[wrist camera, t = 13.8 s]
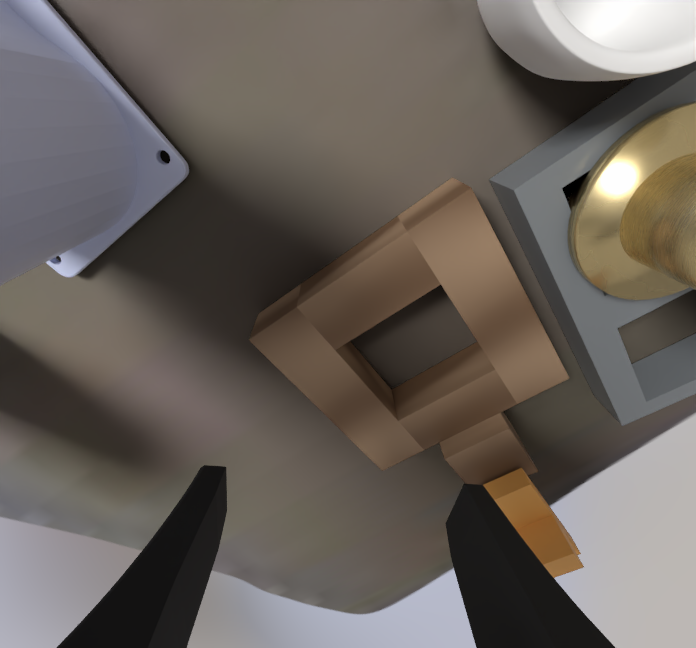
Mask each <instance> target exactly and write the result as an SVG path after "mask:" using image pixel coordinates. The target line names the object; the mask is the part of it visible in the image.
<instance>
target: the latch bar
mask: <svg viewBox="0 0 696 648" xmlns="http://www.w3.org/2000/svg"><path fill="white" fill-rule="evenodd" d="M483 486H484V487H485V488H486V490H487V491H488V492H489V494H490V495H491V496H492V498H493V499H494V501H495V502H496V503H497V505H498V506H499V507H500V509H501V510H502V511H503V513H504V514H505V516H506V517H507V518H508V520H509V521H510V522H511V524H512V525H513V526H514V528H515V529H516V530H517V532H518V533H519V534H520V536H521V537H522V538H523V540H524V541H525V542H526V544H527V545H528V546H529V548H530V549H531V550H532V551H533V553H534V554H535V555H536V557H537V558H538V559H539V560H540V562H541V563H542V564H543V566H544V567H545V568H546V569H547V570H548V572H549V573H550V574H551V575H552V577H553V578H555V577H557V576H560V575H563V574H566V573H569V572H571V571H574V570H577V569H580V568H583V567H584V566H583V565H582V563H581V561H580V559H579V557H578V556H577V555H579V554H581V553H580V552H579V550H578V548H577V546H576V544H575V543H574V541H573V539H572V537H571V536H570V535H569V533H568V532H567V530H566V529H565V528H564V526H563V525H562V523H561V522H560V521H559V519H558V518H557V516H556V515H555V514H554V512H553V511H552V510H551V508H550V507H549V505H548V504H547V502H546V501H545V500H544V498H543V497H542V495H541V494H540V493H539V491H538V490H537V488H536V487H535V486H534V484H533V483H532V481H531V480H530V479H529V477H528V476H527V474H526V473H525V472H524V470H523V469H522V468H520V469H518V470H515V471H513V472H511V473H509V474H506V475H504V476H502V477H500V478H497V479H495V480H493V481H491V482H488V483H486V484H484V485H483Z"/></svg>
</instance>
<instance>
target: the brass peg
mask: <svg viewBox="0 0 696 648" xmlns="http://www.w3.org/2000/svg"><path fill="white" fill-rule="evenodd" d="M569 207H570V210H571V214H570V218H569V224H568V247H569V252H570V255H571V258H572V261H573V263H574V265H575V267H576V269H577V270H578V271H579V273H580V274H581V275H582V276H583V277H584V278H585V279H586V280H587V281H589V282H590V283H591V284H593V285H594V286H596V287H598V288H599V289H601V290H602V291H604V292H606V293H608V294H610V295H613V296H615V297H618V298H623V299H630V300H647V299H654V298H660V297H664V296H667V295H671V294H674V293H677V292H679V291H682V290H685V289H687V288H689V287H691V288H693V289H695V290H696V101H694V102H689V103H684V104H679V105H676V106H673V107H670V108H667V109H665V110H662V111H660V112H658V113H656V114H654V115H652V116H650V117H648V118H647V119H645V120H643V121H642V122H640V123H638V124H637V125H635V126H634V127H633V128H631V129H630V130H629V131H627V132H626V133H625V134H623V135H622V136H621V137H620V138H619V139H618V140H617V141H615V142H614V143H613V144H612V145H611V146H610V147H609V148H608V149H607V150H606V152H605V153H604V154H603V155H602V156H601V157H600V158H599V160H598V161H597V162H596V163H595V165H594V166H593V167H592V169H591V170H590V171H588V172H586V173H585V174H583V175H582V176H580V177H579V178H578V180H577V181H576V183H575V185H574V187H573V189H572V192H571V195H570V199H569Z"/></svg>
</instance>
